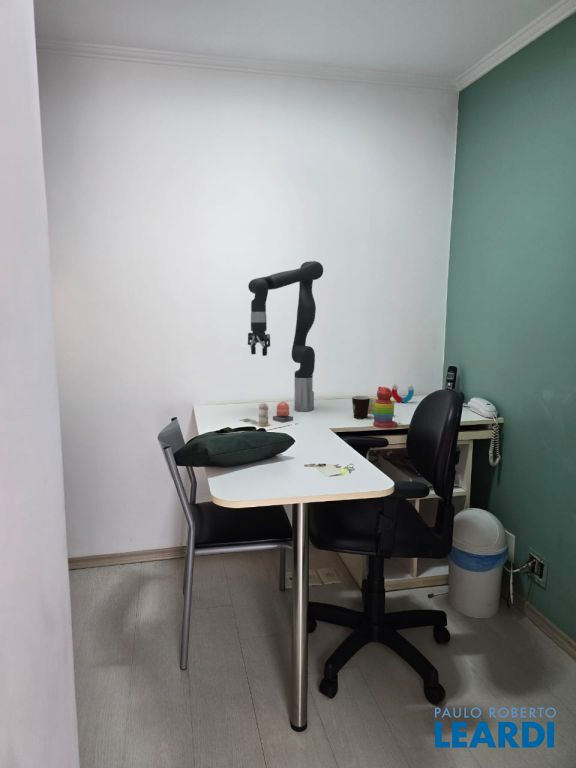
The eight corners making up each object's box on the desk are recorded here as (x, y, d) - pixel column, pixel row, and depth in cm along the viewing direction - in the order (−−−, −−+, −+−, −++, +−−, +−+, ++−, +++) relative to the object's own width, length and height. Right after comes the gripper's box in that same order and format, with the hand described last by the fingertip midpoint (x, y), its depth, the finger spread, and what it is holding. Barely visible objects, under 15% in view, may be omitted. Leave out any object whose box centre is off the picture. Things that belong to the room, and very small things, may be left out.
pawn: (264, 422, 256) (264, 401, 254) (272, 425, 251) (272, 403, 250) (254, 424, 252) (254, 402, 250) (262, 426, 248) (262, 404, 246)
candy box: (394, 416, 274) (394, 399, 272) (392, 417, 272) (392, 400, 271) (364, 412, 283) (365, 396, 282) (362, 412, 281) (363, 396, 280)
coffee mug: (368, 420, 265) (369, 399, 264) (350, 419, 267) (351, 398, 265) (370, 414, 276) (370, 395, 275) (352, 414, 278) (353, 394, 277)
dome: (283, 412, 264) (283, 400, 263) (292, 414, 260) (292, 402, 259) (273, 414, 260) (273, 401, 259) (282, 416, 256) (282, 403, 255)
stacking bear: (400, 426, 254) (401, 387, 251) (383, 429, 248) (384, 389, 245) (383, 421, 262) (384, 384, 259) (367, 424, 257) (368, 386, 254)
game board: (269, 415, 275) (269, 410, 274) (300, 423, 259) (300, 417, 258) (226, 423, 258) (226, 418, 257) (256, 432, 241) (256, 426, 241)
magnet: (413, 402, 306) (414, 384, 305) (413, 403, 304) (413, 385, 302) (391, 401, 309) (392, 383, 308) (391, 402, 307) (391, 384, 305)
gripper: (274, 321, 264) (274, 355, 267) (255, 320, 274) (255, 353, 277) (261, 322, 259) (262, 356, 262) (243, 320, 269) (243, 354, 272)
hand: (258, 355), depth 269 cm, fingers open, 8 cm apart
